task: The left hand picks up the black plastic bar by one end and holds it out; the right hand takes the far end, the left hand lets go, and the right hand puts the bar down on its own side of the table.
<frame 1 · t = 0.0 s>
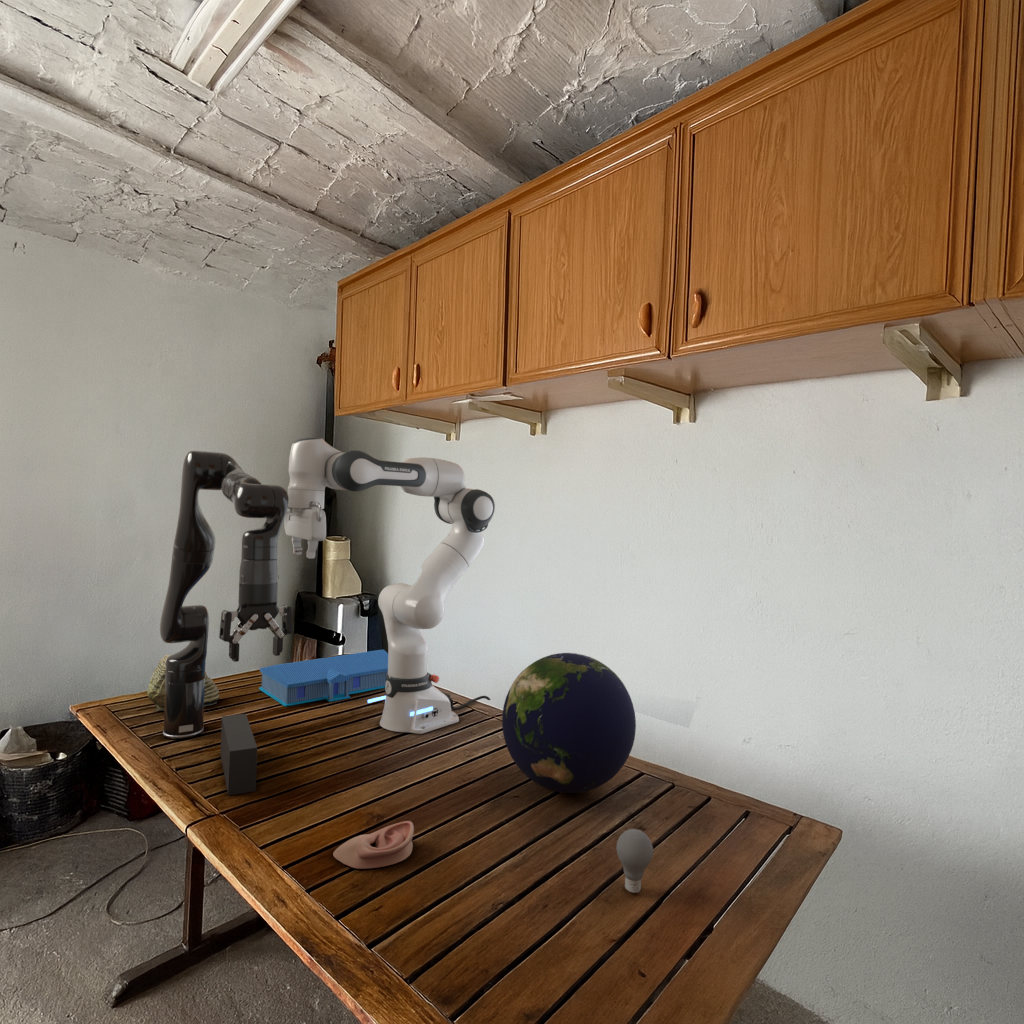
left hand: (256, 657, 132), 29 cm above the table, tool pointing down, fingers open, 8 cm apart
right hand: (303, 556, 159), 48 cm above the table, tool pointing down, fingers open, 8 cm apart
model building: (332, 688, 208), on the table
fossil: (183, 706, 185), on the table
light bulb: (632, 891, 106), on the table
bar: (237, 771, 144), on the table
anatomical model: (374, 852, 114), on the table
globe: (565, 787, 143), on the table
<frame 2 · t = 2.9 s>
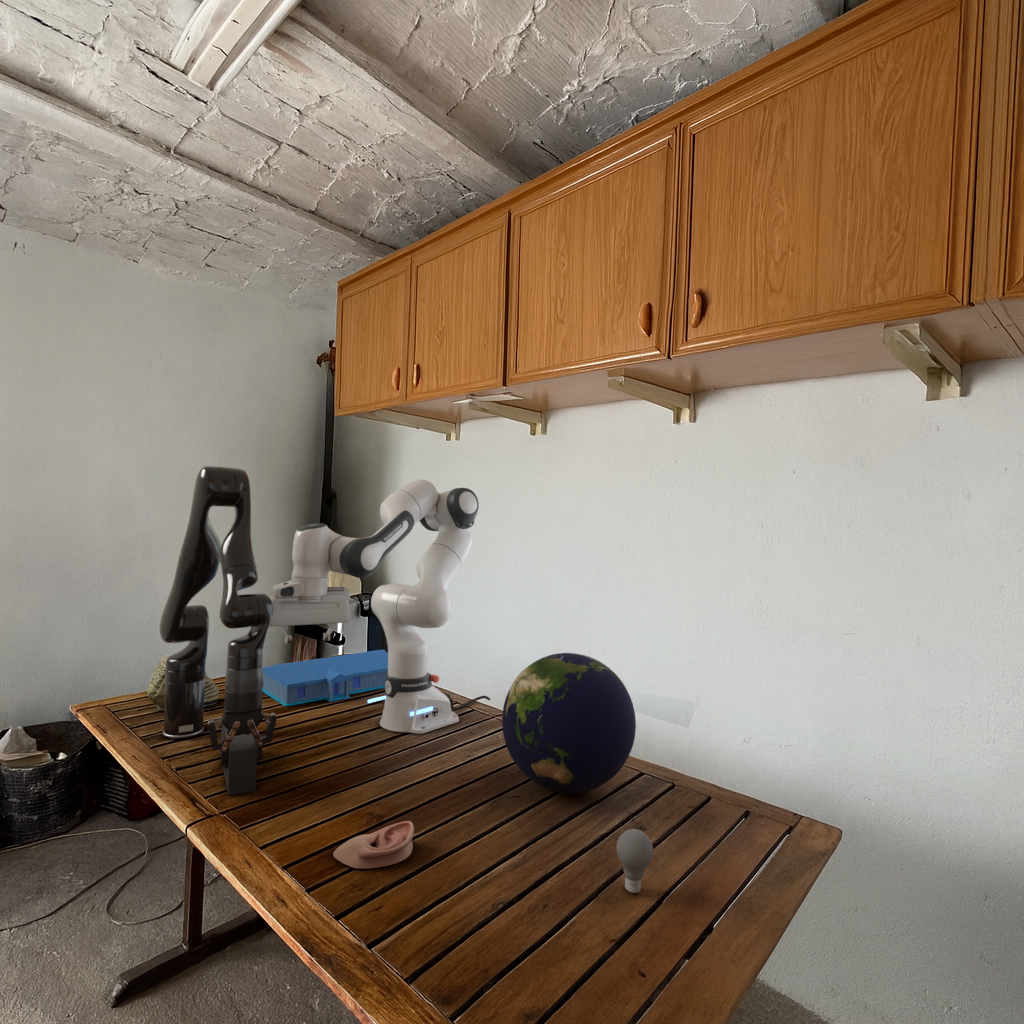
left hand: (241, 764, 136), 5 cm above the table, tool pointing down, fingers closed on bar, 5 cm apart
right hand: (307, 641, 161), 26 cm above the table, tool pointing down, fingers open, 8 cm apart
bar: (237, 771, 144), on the table, touching left hand
everything else where it was.
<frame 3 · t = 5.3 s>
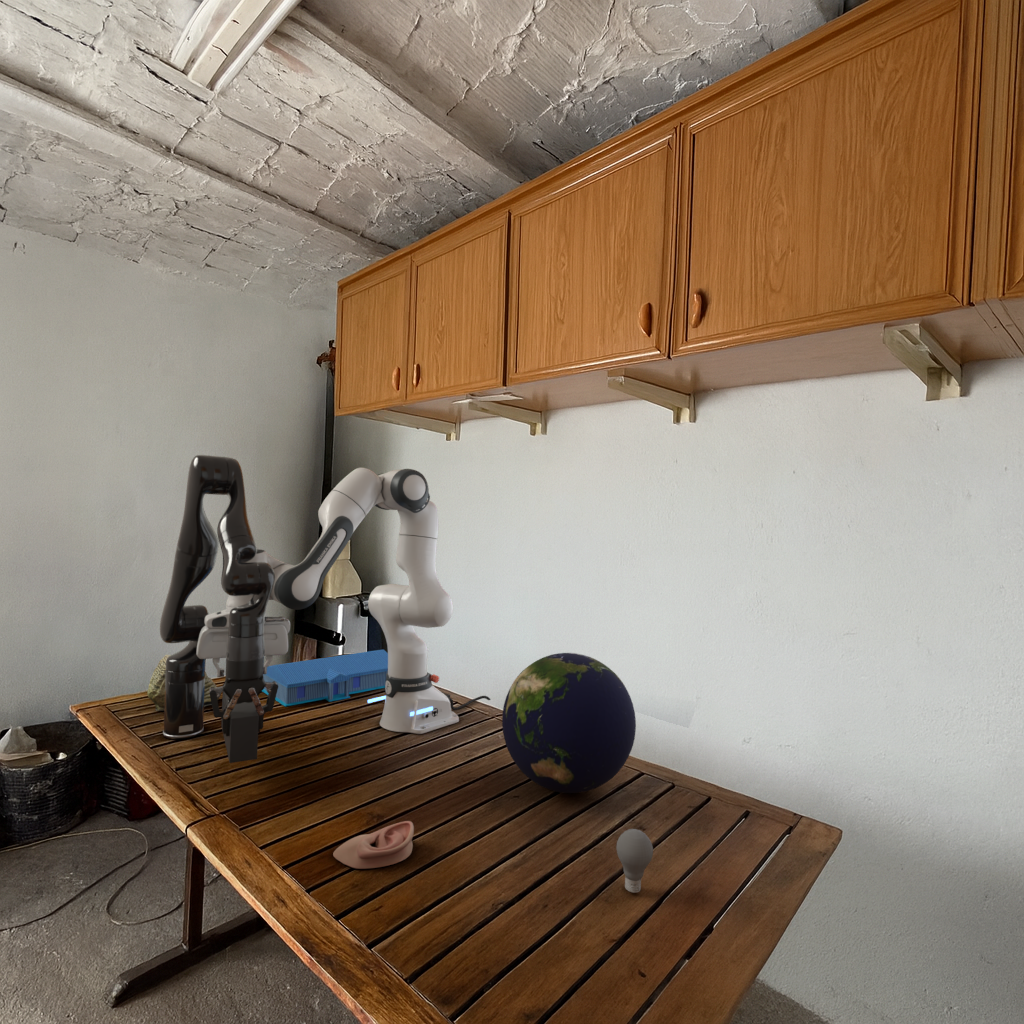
left hand: (242, 732, 136), 12 cm above the table, tool pointing down, fingers closed on bar, 5 cm apart
right hand: (241, 675, 151), 20 cm above the table, tool pointing down, fingers open, 8 cm apart
bar: (238, 741, 144), point 7 cm above the table, touching left hand
everything else where it was.
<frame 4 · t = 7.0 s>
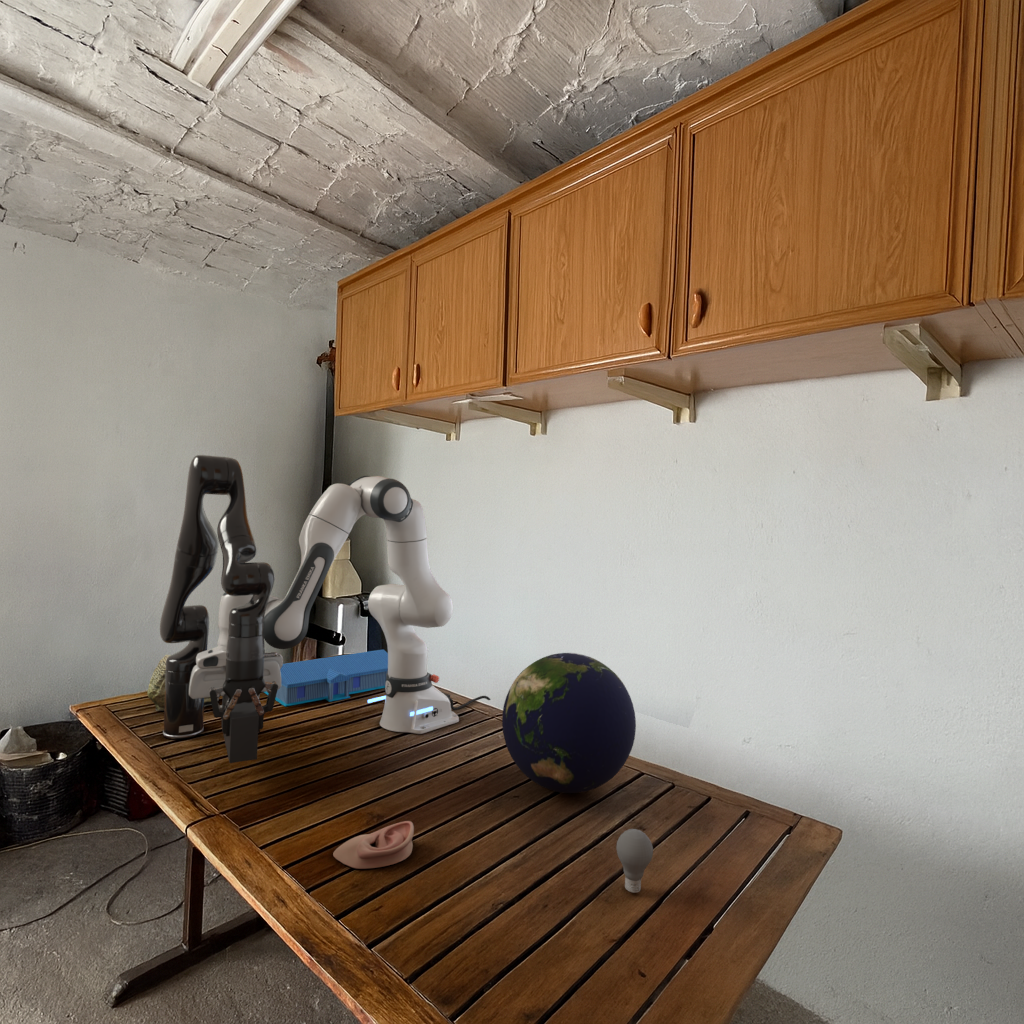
left hand: (242, 732, 136), 12 cm above the table, tool pointing down, fingers closed on bar, 5 cm apart
right hand: (235, 712, 151), 11 cm above the table, tool pointing down, fingers closed on bar, 5 cm apart
bar: (238, 741, 144), point 7 cm above the table, touching left hand, right hand
everything else where it was.
when the left hand's fingers open (12 cm above the table, at t = 8.2 s): bar stays where it is, held by the right hand.
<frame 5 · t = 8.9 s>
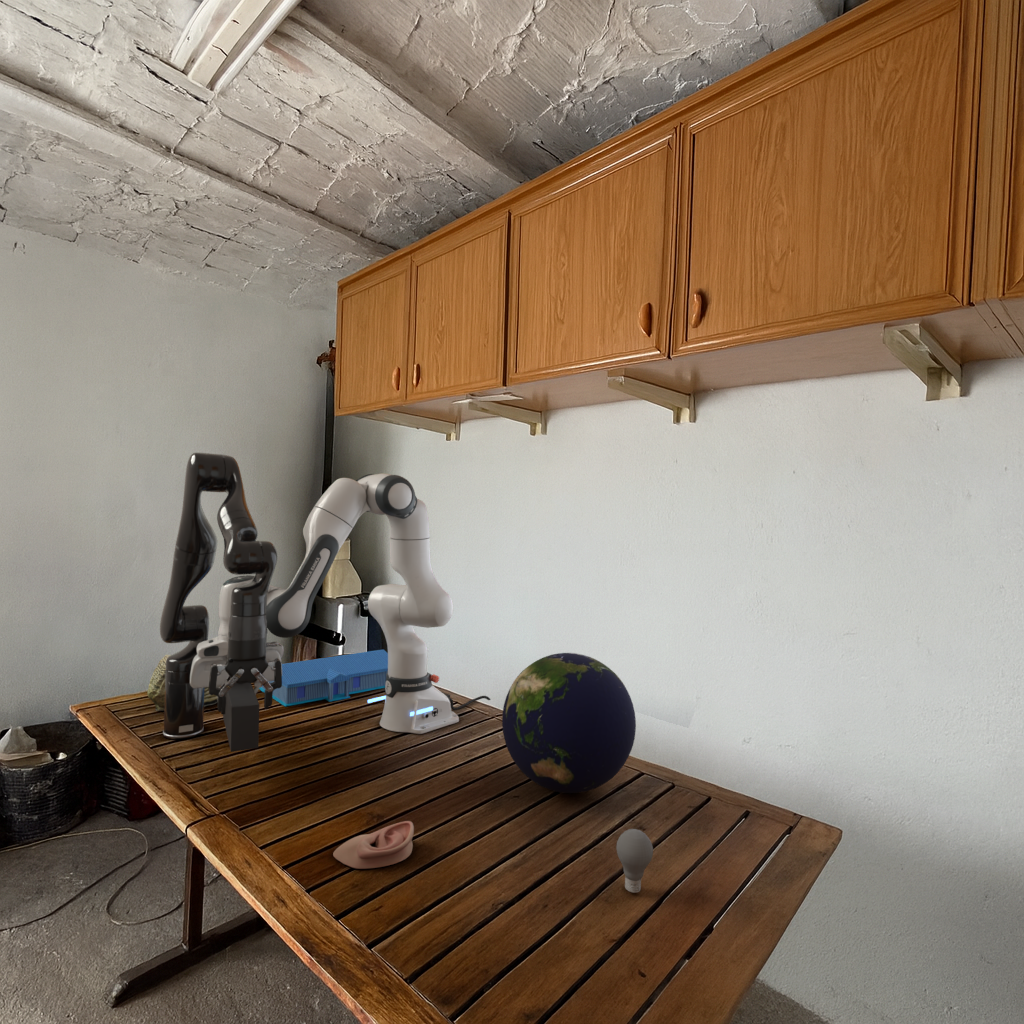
left hand: (244, 710, 135), 17 cm above the table, tool pointing down, fingers open, 8 cm apart
right hand: (236, 701, 151), 13 cm above the table, tool pointing down, fingers closed on bar, 5 cm apart
bar: (239, 731, 144), point 9 cm above the table, touching right hand
everything else where it was.
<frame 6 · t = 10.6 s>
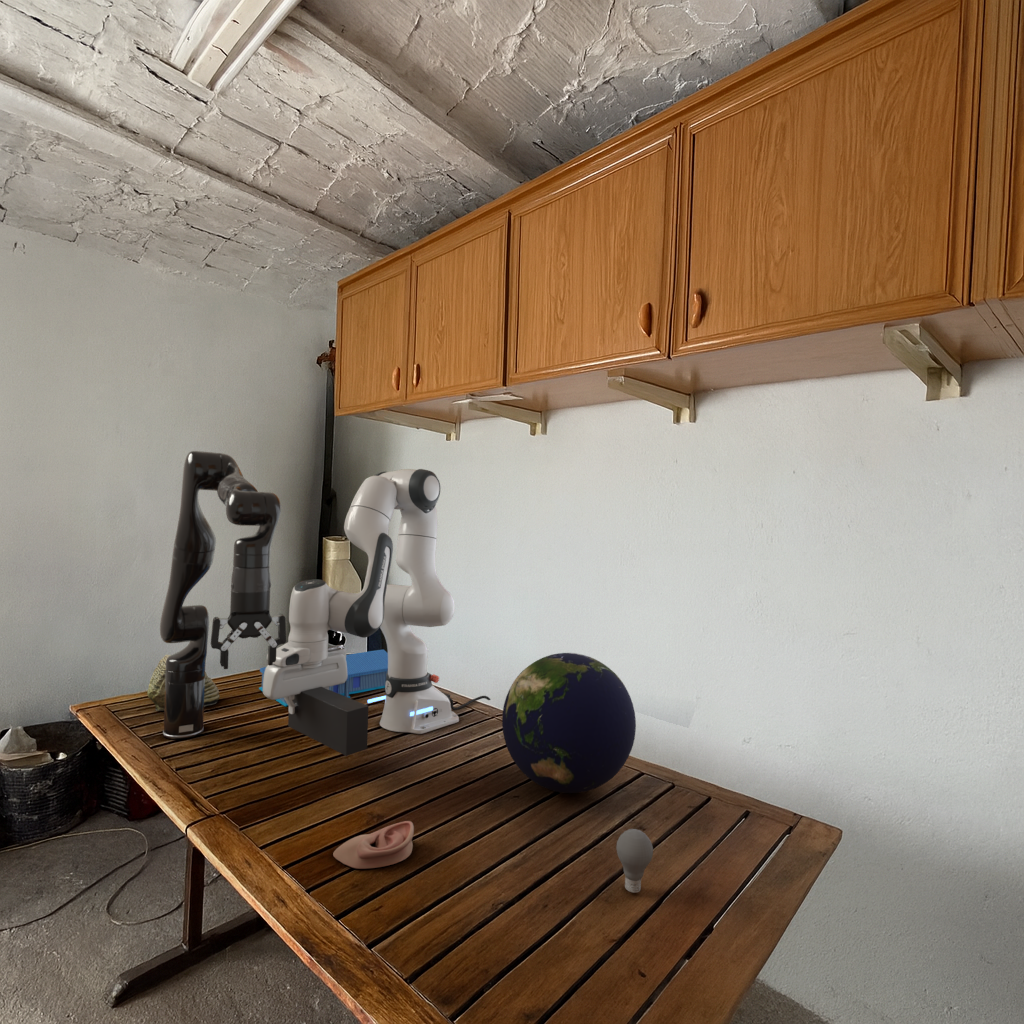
left hand: (248, 666, 131), 28 cm above the table, tool pointing down, fingers open, 8 cm apart
right hand: (306, 709, 147), 14 cm above the table, tool pointing down, fingers closed on bar, 5 cm apart
bar: (326, 737, 142), point 9 cm above the table, touching right hand
everything else where it was.
when the right hand's fingers open (5 cm above the table, at t = 14.1 s): bar drops 2 cm, on the table.
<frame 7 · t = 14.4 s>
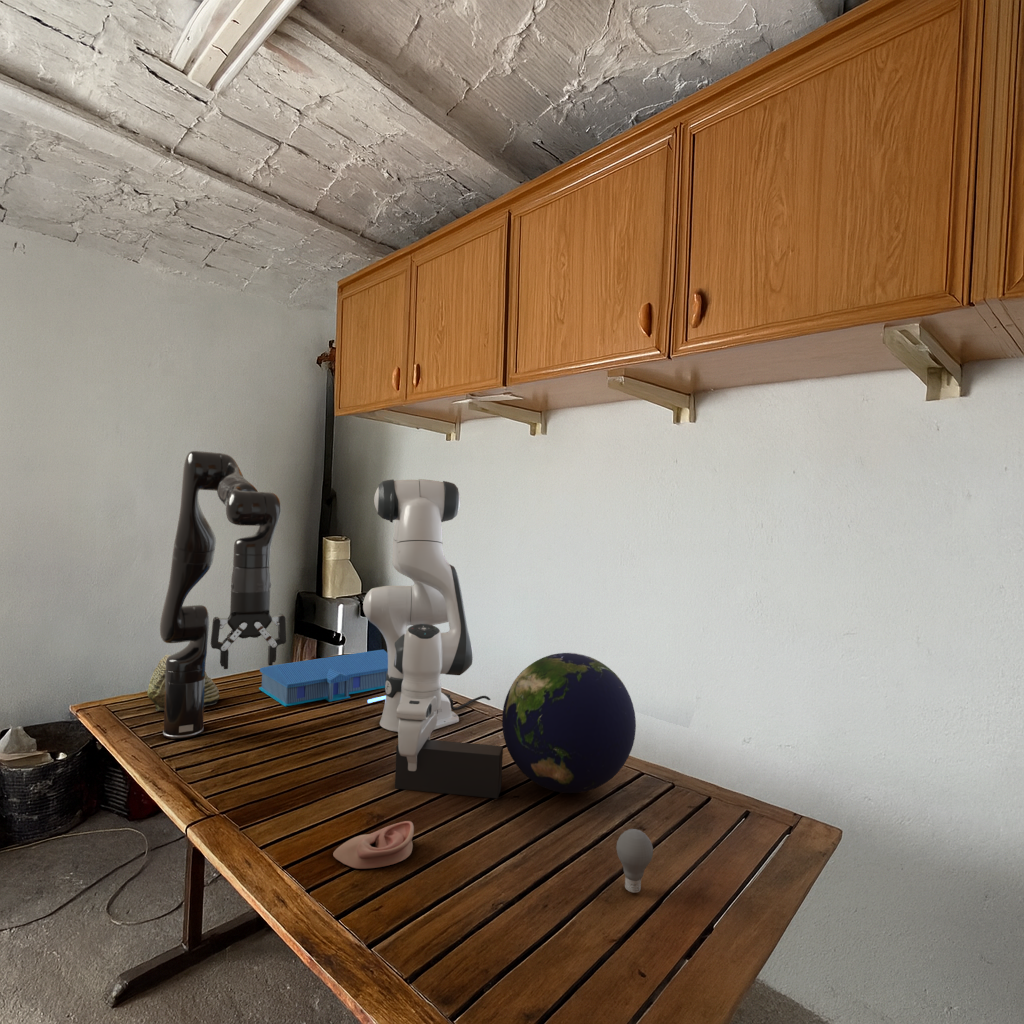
left hand: (248, 666, 131), 28 cm above the table, tool pointing down, fingers open, 8 cm apart
right hand: (418, 760, 141), 5 cm above the table, tool pointing down, fingers open, 8 cm apart
bar: (448, 788, 140), on the table
everything else where it was.
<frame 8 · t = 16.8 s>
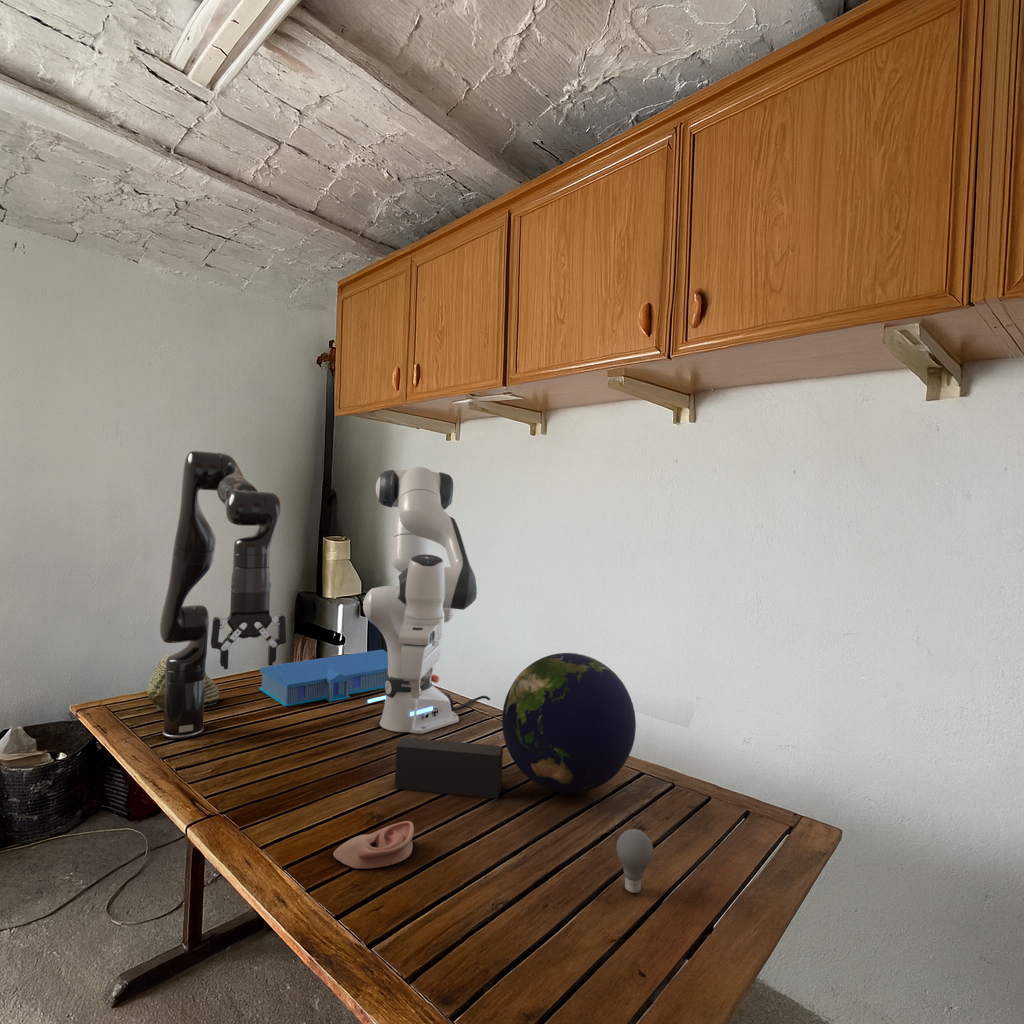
left hand: (248, 666, 131), 28 cm above the table, tool pointing down, fingers open, 8 cm apart
right hand: (421, 690, 141), 21 cm above the table, tool pointing down, fingers open, 8 cm apart
nothing on the table moved.
at the end: bar inside the target area (7.2 cm from its centre), on the table; the left hand is holding nothing; the right hand is holding nothing; bar at rest at the end (0.0 cm/s) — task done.
